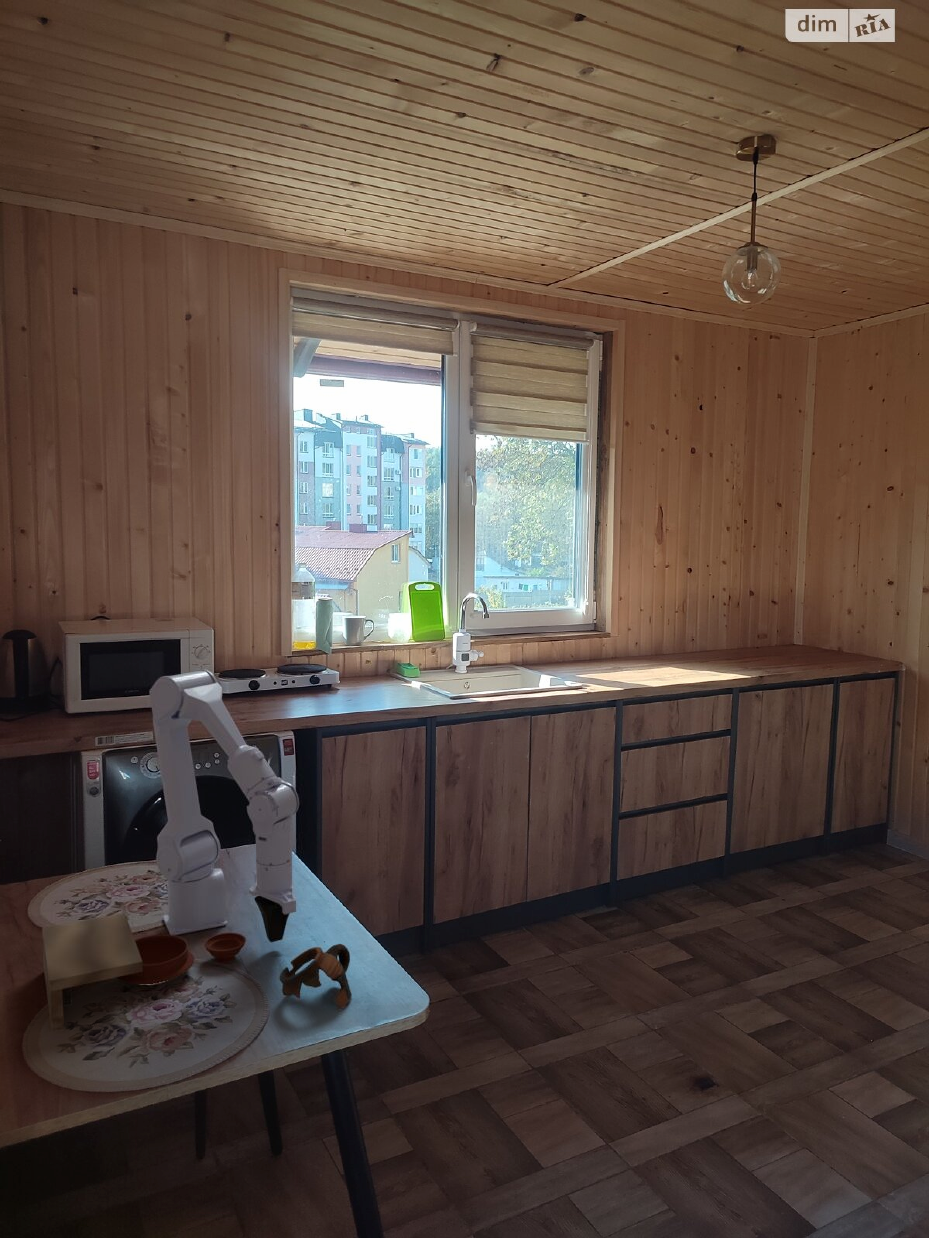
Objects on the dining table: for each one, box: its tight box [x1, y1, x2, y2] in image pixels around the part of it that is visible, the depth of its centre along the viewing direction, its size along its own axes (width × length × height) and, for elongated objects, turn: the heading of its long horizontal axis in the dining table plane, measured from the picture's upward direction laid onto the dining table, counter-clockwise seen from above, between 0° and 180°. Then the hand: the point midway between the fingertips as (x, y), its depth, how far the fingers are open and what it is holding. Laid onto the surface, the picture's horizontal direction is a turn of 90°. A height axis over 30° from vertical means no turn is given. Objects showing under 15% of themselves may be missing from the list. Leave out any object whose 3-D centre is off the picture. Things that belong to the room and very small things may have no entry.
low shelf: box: [41, 912, 143, 1030], centre depth 132 cm, size 12×18×7 cm, turn 28°
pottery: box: [115, 932, 247, 985], centre depth 138 cm, size 12×20×4 cm, turn 121°
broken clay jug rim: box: [278, 943, 352, 1010], centre depth 131 cm, size 12×10×8 cm
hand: (275, 939), depth 145 cm, fingers closed
